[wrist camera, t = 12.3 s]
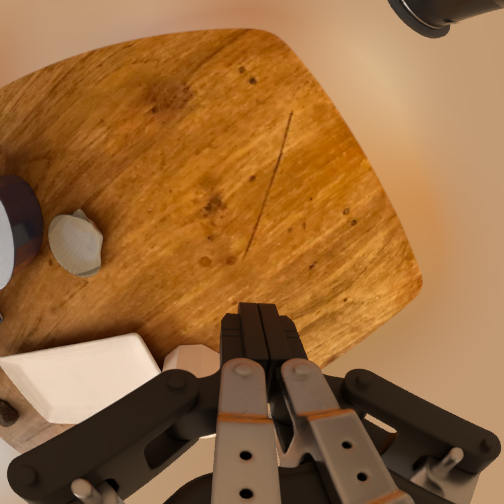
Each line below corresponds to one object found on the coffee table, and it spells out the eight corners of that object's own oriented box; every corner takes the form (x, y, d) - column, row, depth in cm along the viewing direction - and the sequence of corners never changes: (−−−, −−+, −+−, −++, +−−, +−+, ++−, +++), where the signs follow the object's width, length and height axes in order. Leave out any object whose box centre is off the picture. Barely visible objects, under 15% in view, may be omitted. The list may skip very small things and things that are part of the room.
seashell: (55, 232, 30) (84, 285, 31) (39, 237, 27) (69, 294, 28) (89, 193, 28) (122, 252, 29) (71, 195, 25) (106, 259, 26)
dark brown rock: (-4, 427, 34) (8, 432, 32) (-16, 402, 35) (-5, 404, 33) (12, 420, 40) (26, 423, 38) (1, 396, 41) (13, 397, 39)
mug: (153, 354, 35) (141, 407, 26) (209, 334, 35) (209, 390, 26) (195, 405, 40) (194, 455, 30) (245, 390, 39) (253, 442, 30)
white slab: (191, 401, 39) (191, 418, 36) (53, 412, 39) (48, 424, 36) (142, 316, 33) (136, 331, 30) (3, 346, 33) (-6, 358, 30)
